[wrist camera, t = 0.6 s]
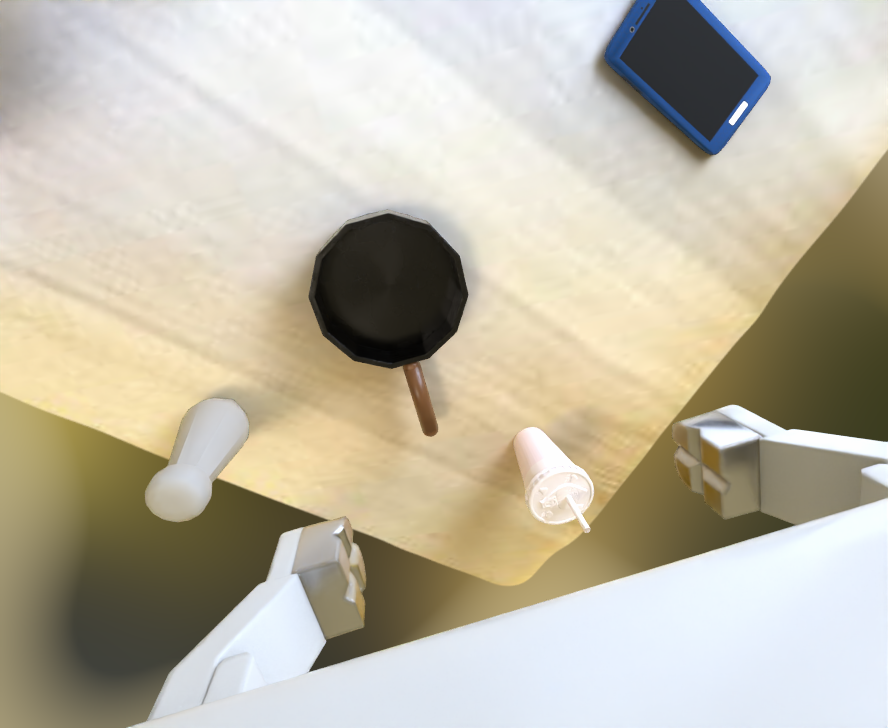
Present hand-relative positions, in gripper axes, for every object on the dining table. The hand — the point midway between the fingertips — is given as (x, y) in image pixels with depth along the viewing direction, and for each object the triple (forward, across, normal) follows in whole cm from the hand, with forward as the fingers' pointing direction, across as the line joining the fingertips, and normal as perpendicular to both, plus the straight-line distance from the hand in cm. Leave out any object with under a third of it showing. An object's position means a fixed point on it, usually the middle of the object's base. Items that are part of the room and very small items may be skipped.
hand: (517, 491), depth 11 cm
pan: (+34, +2, +3) cm, 34 cm away
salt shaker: (+35, +21, +7) cm, 42 cm away
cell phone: (+32, -26, -12) cm, 44 cm away
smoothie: (+36, -8, +20) cm, 42 cm away
